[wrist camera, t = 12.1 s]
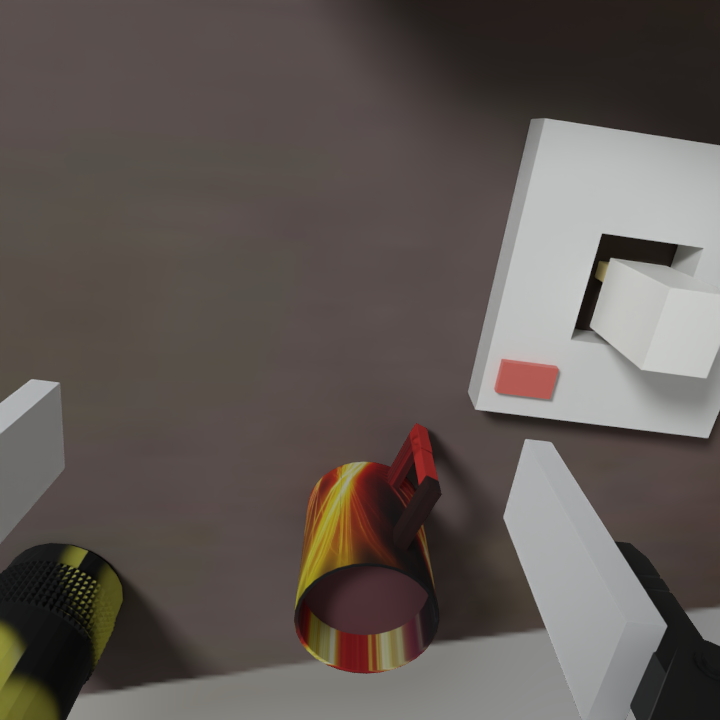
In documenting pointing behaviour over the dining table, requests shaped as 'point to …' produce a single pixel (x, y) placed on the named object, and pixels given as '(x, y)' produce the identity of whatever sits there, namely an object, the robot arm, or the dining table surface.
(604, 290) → the plug
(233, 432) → the dining table surface
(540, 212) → the socket
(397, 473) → the mug
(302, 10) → the dining table surface
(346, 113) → the dining table surface
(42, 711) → the container
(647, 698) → the robot arm
